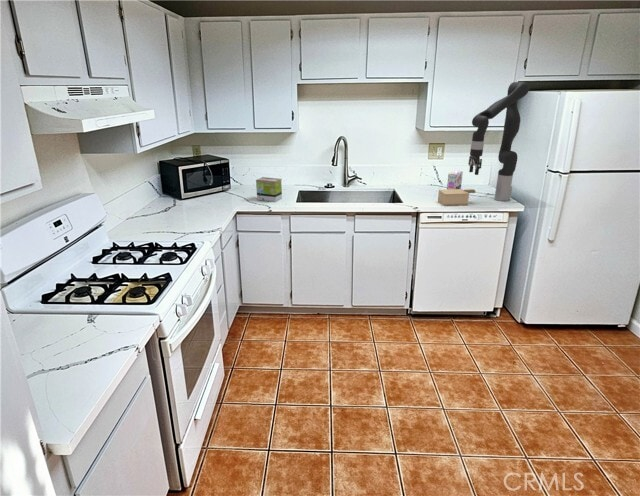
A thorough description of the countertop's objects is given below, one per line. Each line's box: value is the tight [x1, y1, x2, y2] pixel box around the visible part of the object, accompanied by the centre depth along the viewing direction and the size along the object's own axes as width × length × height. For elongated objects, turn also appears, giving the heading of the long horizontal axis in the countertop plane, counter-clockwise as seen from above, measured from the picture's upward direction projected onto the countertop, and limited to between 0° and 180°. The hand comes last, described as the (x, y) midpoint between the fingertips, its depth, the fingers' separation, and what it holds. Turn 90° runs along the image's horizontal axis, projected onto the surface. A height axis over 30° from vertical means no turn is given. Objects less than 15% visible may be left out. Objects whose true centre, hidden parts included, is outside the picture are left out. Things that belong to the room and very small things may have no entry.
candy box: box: [446, 170, 464, 190], centre depth 293 cm, size 14×6×16 cm, turn 143°
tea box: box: [255, 176, 283, 203], centre depth 285 cm, size 15×10×15 cm
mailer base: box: [437, 191, 470, 207], centre depth 274 cm, size 16×12×7 cm
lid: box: [438, 188, 476, 196], centre depth 273 cm, size 22×12×2 cm, turn 94°
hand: (473, 173), depth 269 cm, fingers open, 8 cm apart
